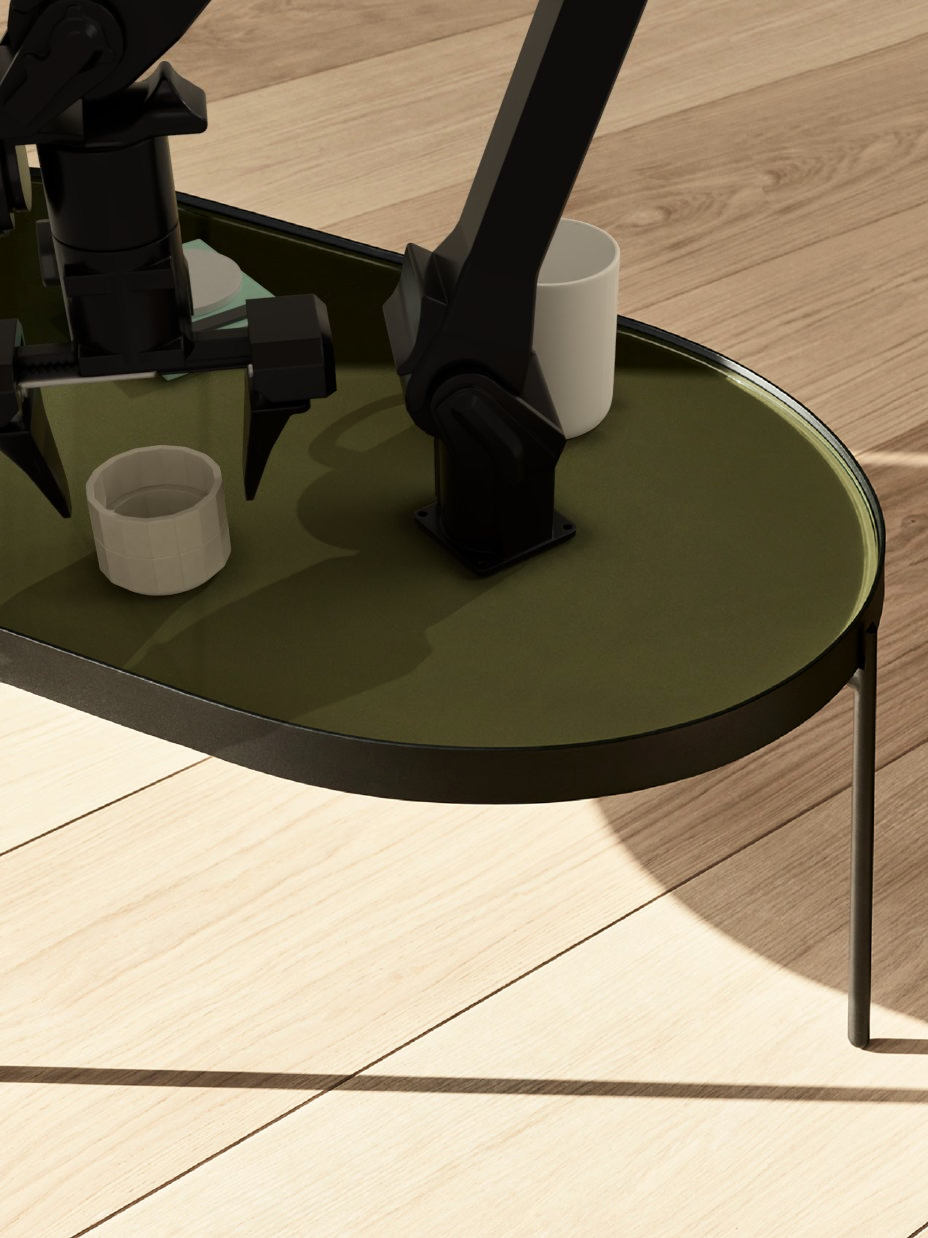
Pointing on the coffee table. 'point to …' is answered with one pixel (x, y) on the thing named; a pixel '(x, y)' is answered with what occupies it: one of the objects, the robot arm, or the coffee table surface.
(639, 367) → the coffee table surface
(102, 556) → the bowl
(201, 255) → the scale
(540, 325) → the cup
